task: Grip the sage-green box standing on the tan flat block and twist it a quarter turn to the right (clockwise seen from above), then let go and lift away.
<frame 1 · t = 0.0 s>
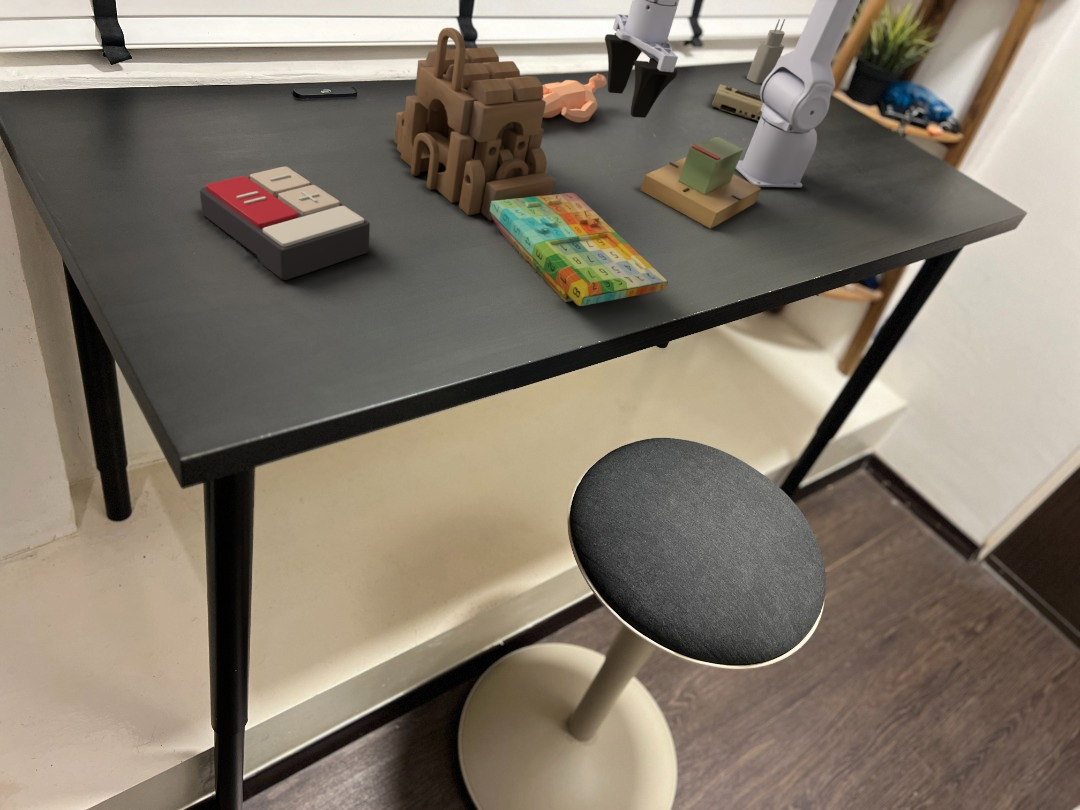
hand: (626, 104, 107), 10 cm above the table, tool pointing down, fingers open, 7 cm apart
puzzle game: (568, 269, 92), on the table
box: (711, 164, 110), point 5 cm above the table, hinge at 0.0°
tan flat block: (698, 197, 114), on the table
computer: (752, 115, 146), on the table
calculator: (285, 235, 85), on the table
male figurine: (548, 115, 125), on the table
wooden puzzle: (467, 176, 104), on the table
power adapter: (758, 80, 162), on the table
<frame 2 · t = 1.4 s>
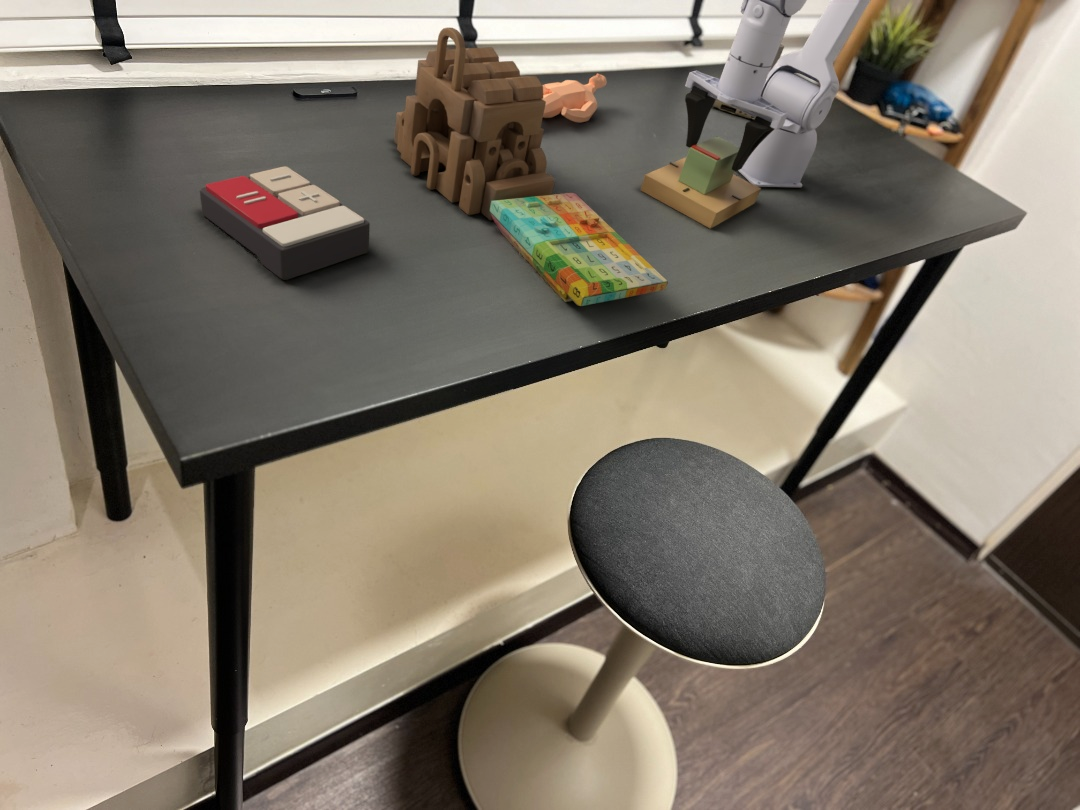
hand: (713, 157, 110), 6 cm above the table, tool pointing down, fingers open, 7 cm apart
nothing on the table moved.
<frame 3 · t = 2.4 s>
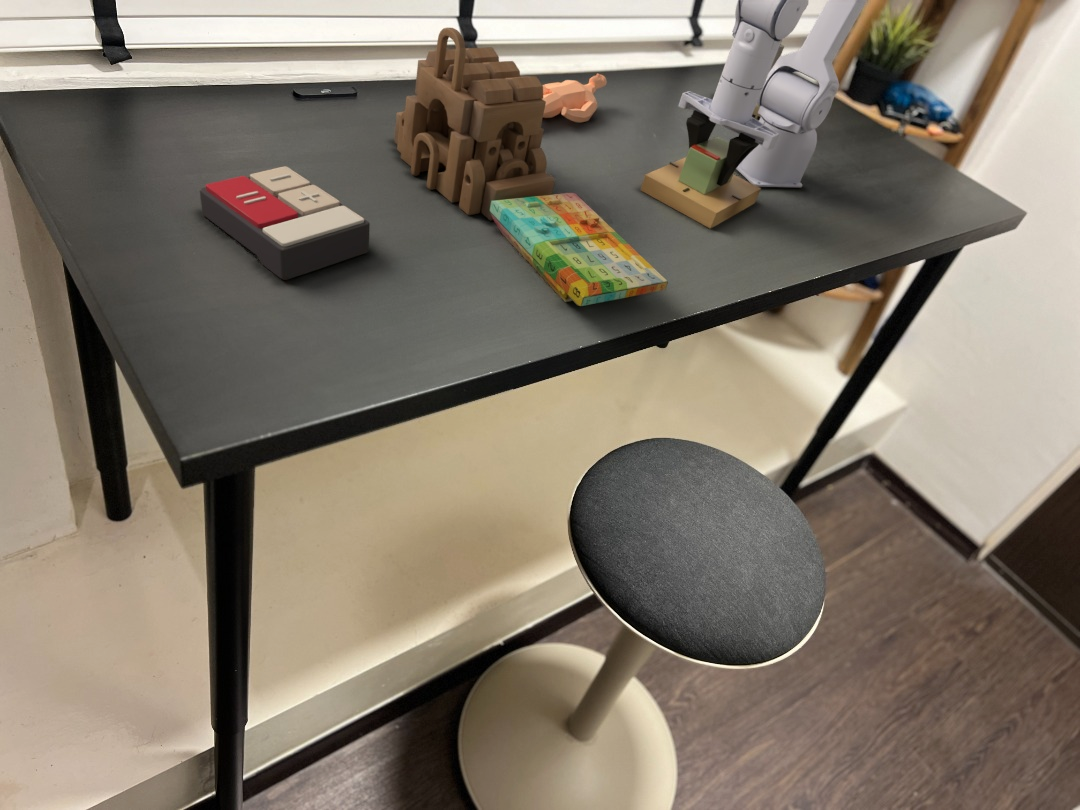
hand: (706, 175, 112), 3 cm above the table, tool pointing down, fingers closed on box, 4 cm apart
box: (711, 164, 110), point 5 cm above the table, hinge at 0.0°, touching gripper
everything else where it was.
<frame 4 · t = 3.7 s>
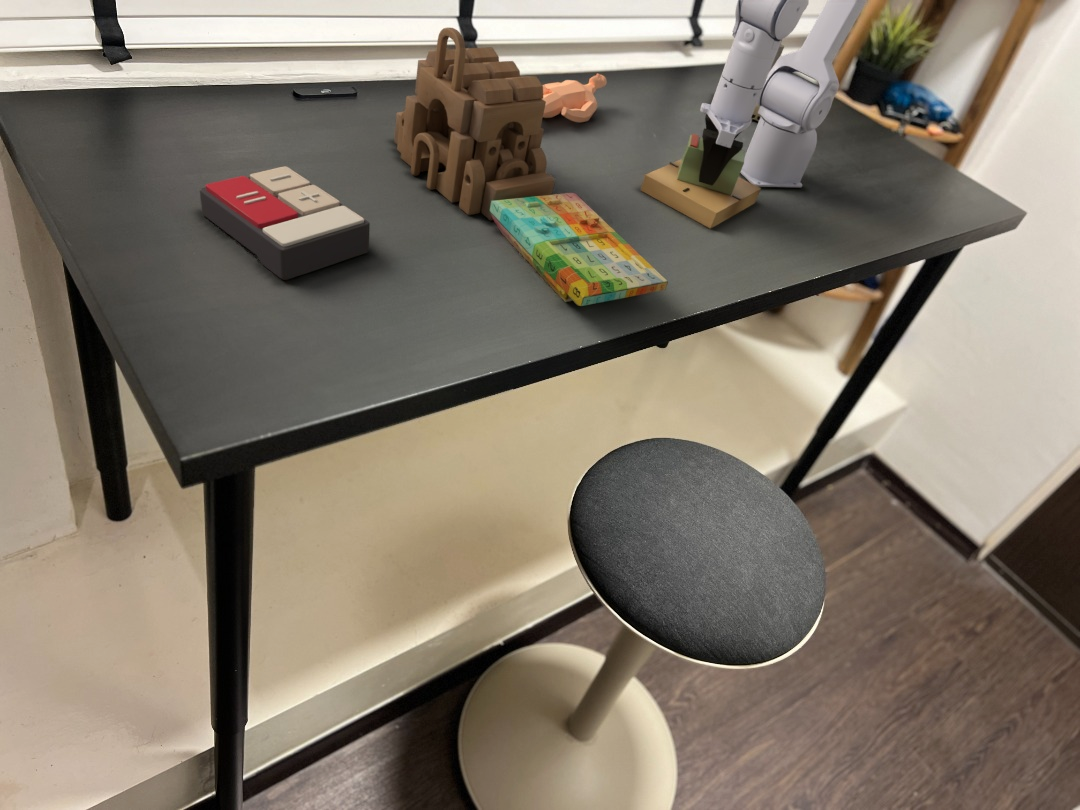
hand: (706, 175, 112), 3 cm above the table, tool pointing down, fingers closed on box, 4 cm apart
box: (711, 164, 110), point 5 cm above the table, hinge at -63.6°, touching gripper
everything else where it was.
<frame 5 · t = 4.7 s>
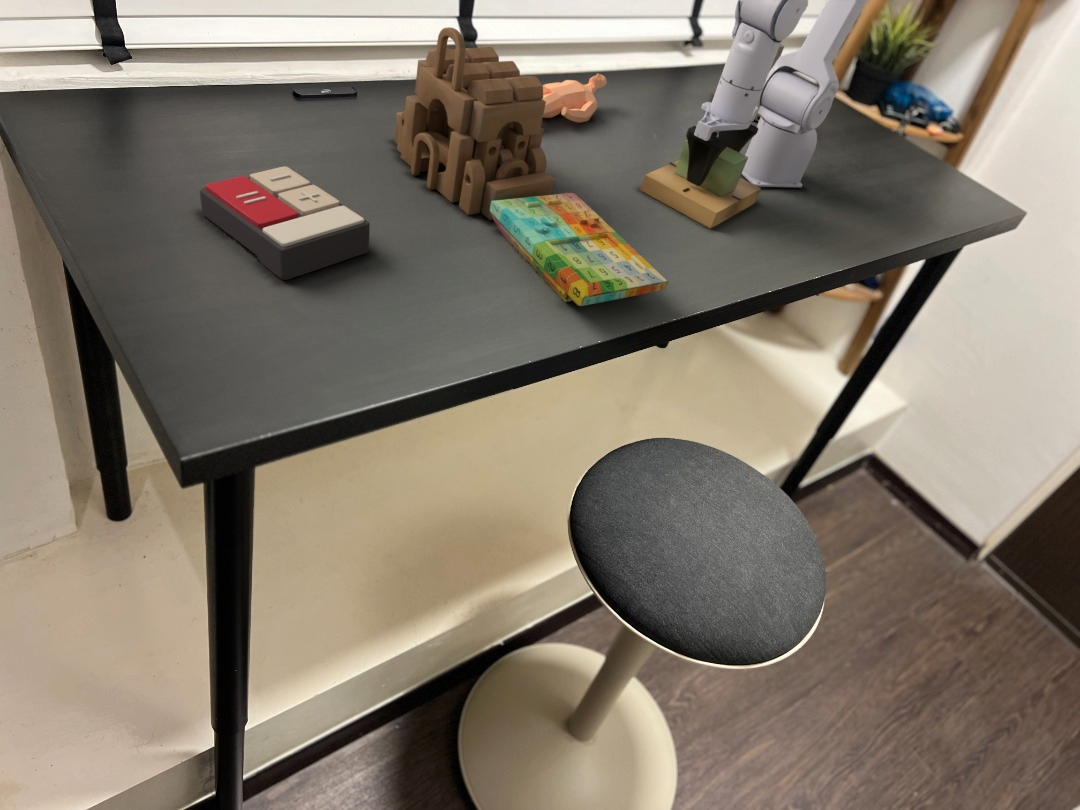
hand: (706, 176, 112), 3 cm above the table, tool pointing down, fingers open, 7 cm apart
box: (711, 164, 110), point 5 cm above the table, hinge at -89.4°
everything else where it was.
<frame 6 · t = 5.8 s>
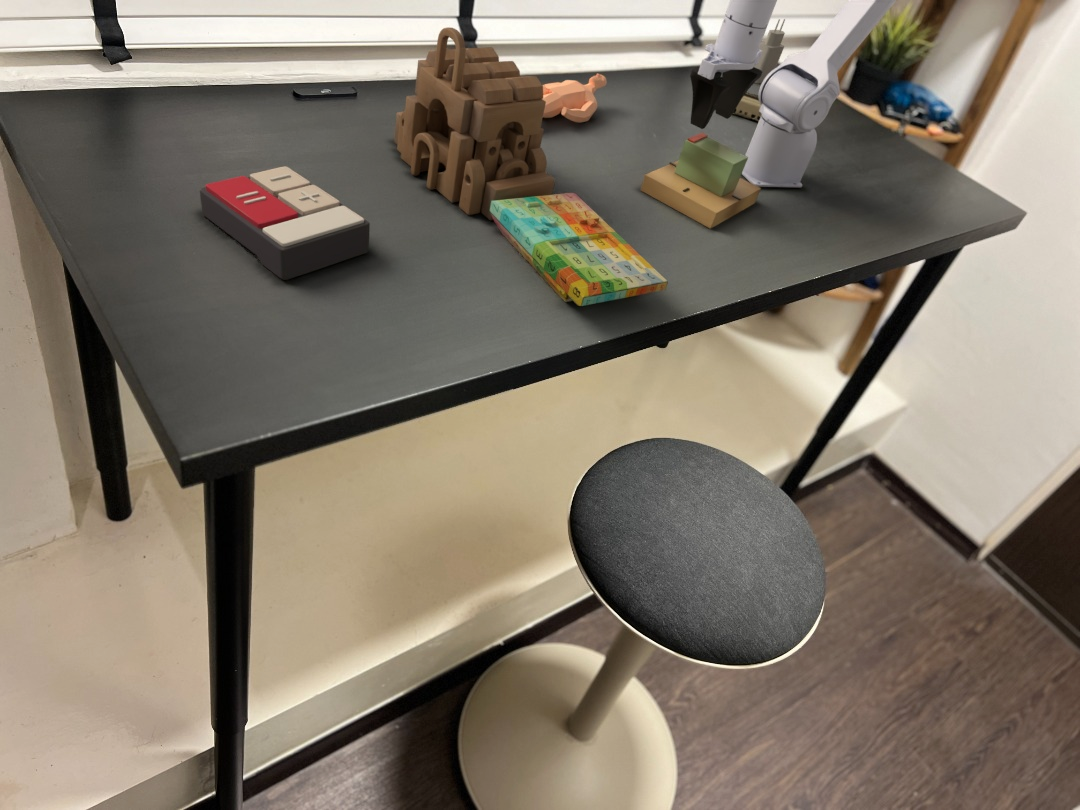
hand: (710, 120, 111), 9 cm above the table, tool pointing down, fingers open, 7 cm apart
nothing on the table moved.
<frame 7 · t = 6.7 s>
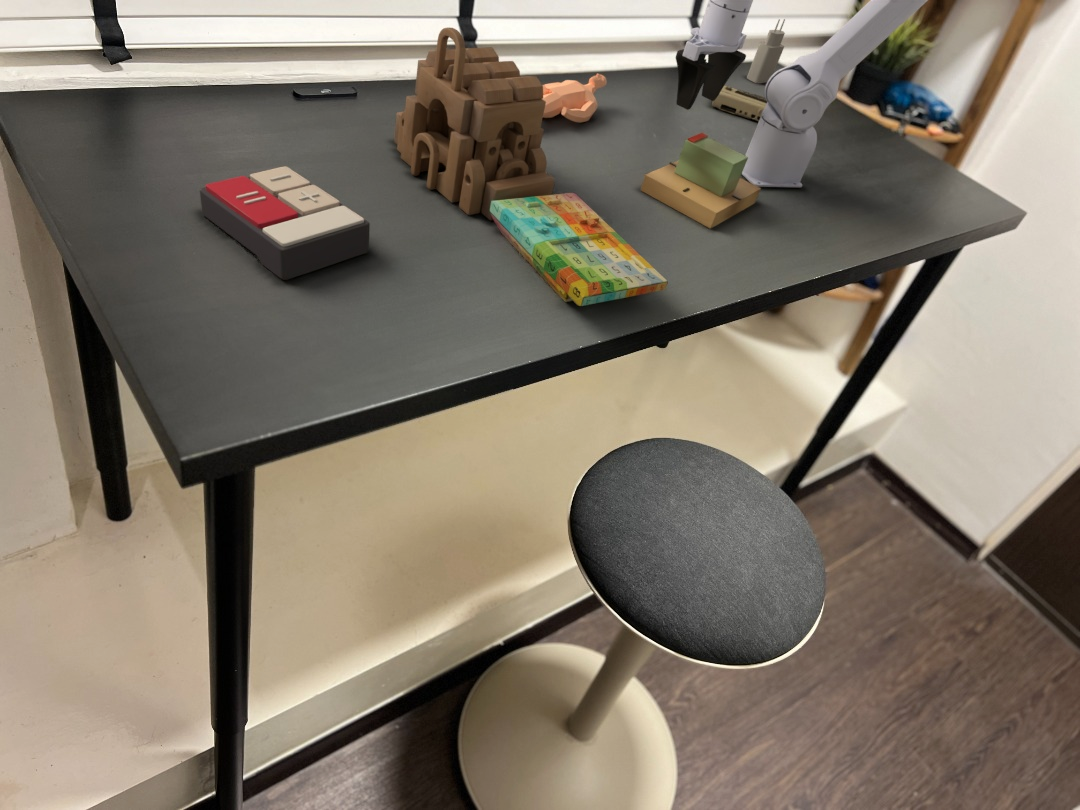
hand: (695, 102, 116), 9 cm above the table, tool pointing down, fingers open, 7 cm apart
nothing on the table moved.
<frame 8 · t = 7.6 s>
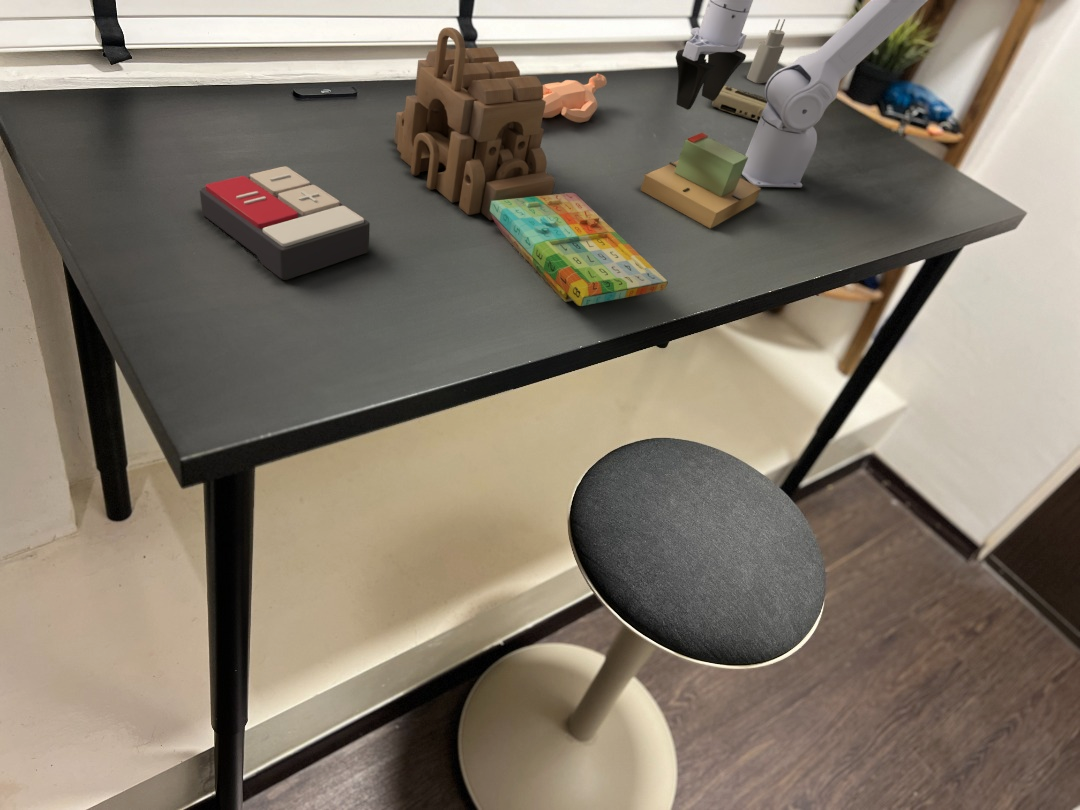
hand: (695, 102, 116), 9 cm above the table, tool pointing down, fingers open, 7 cm apart
nothing on the table moved.
at the end: box at -89° (first picture: +0°); the gripper is holding nothing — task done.
